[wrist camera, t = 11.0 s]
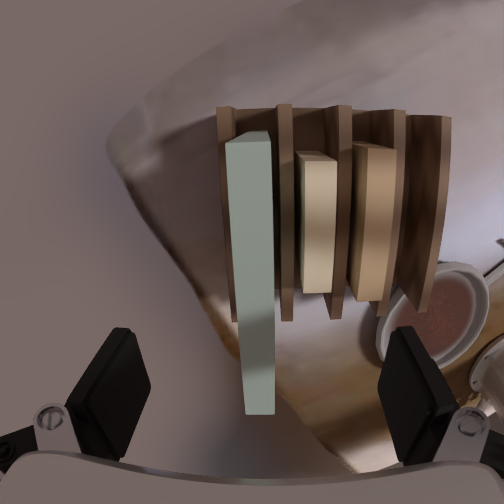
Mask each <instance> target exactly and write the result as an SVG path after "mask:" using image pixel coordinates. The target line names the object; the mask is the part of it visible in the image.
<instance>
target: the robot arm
mask: <svg viewBox="0 0 504 504" xmlns="http://www.w3.org/2000/svg"><path fill="white" fill-rule="evenodd" d="M469 384H470V386H471V388H472V389H473V390H474V391H476V392H481V394H482V395H481V400H480V401H479V403H478V405H477V406H476V408H474V407H463V408H461V409H460V407H459V405H458V403H457V401H456V399H455V398H454V396H453V394H452V392H451V390H450V388H449V386H448V384H447V382H446V380H445V378H444V377H443V375H442V373H441V371H440V369H439V367H438V366H437V364H436V362H435V361H434V359H432V358H431V357H430V356H429V354H428V352H427V350H426V349H425V347H424V345H423V343H422V341H421V340H420V338H419V336H418V335H417V333H416V331H415V329H414V328H413V326H400V327H397V328H396V329H395V331H392V332H391V334H390V339H389V343H388V347H387V351H386V355H385V359H384V363H383V367H382V370H381V374H380V378H379V381H378V394H379V397H380V400H381V403H382V407H383V410H384V413H385V416H386V420H387V423H388V427H389V430H390V433H391V437H392V440H393V444H394V448H395V451H396V455H397V458H398V461H399V462H402V461H403V465H404V467H399V468H394V469H388V470H381V471H374V472H367V473H359V474H351V475H342V476H332V477H319V478H300V479H243V478H226V477H213V476H202V475H193V474H185V473H177V472H170V471H163V470H158V469H152V468H146V467H141V466H136V465H130V464H126V463H121V462H119V460H120V457H121V458H123V457H124V456H125V454H126V451H127V448H128V446H129V443H130V441H131V438H132V436H133V433H134V430H135V428H136V425H137V423H138V420H139V418H140V415H141V413H142V410H143V408H144V406H145V403H146V401H147V398H148V396H149V393H150V390H151V384H150V381H149V377H148V374H147V371H146V368H145V365H144V362H143V359H142V355H141V352H140V349H139V345H138V342H137V339H136V335H135V333H133V332H131V330H130V329H129V328H114V329H113V330H112V332H111V333H110V334H109V336H108V337H107V339H106V340H105V342H104V343H103V345H102V346H101V348H100V349H99V351H98V352H97V354H96V355H95V357H94V358H93V360H92V362H91V363H90V364H89V366H88V368H87V369H86V370H85V372H84V374H83V375H82V377H81V378H80V380H79V381H78V383H77V385H76V386H75V388H74V389H73V391H72V393H71V394H70V396H69V397H68V399H67V402H66V403H65V405H64V406H63V405H61V404H58V403H51V404H47V405H45V406H43V407H41V408H40V409H39V410H38V411H37V412H36V414H35V416H34V418H33V424H34V425H31V426H29V427H26V428H23V429H21V430H18V431H16V432H12V433H10V434H7V435H4V436H1V437H0V504H504V435H502V434H499V433H497V432H495V431H492V430H490V429H489V428H490V423H489V419H488V417H487V416H486V414H485V413H484V410H485V409H486V407H487V404H488V403H489V404H490V405H493V407H494V409H495V410H496V412H497V414H498V415H499V417H500V419H501V421H502V422H503V424H504V335H502V336H500V337H498V338H497V339H496V340H494V341H493V342H492V343H491V344H490V345H488V346H487V348H486V349H485V350H484V351H483V352H482V353H481V354H480V355H479V357H478V358H477V360H476V361H475V363H474V365H473V366H472V368H471V371H470V374H469Z"/></svg>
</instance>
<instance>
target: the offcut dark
mask: <svg viewBox="0 0 504 504" xmlns="http://www.w3.org/2000/svg"><path fill="white" fill-rule="evenodd" d="M396 157H397V150H396V149H392V148H388V147H384V146H380V145H376V144H372V143H368V142H361V141H352V184H351V210H350V228H349V244H348V257H347V269H346V280H347V282H348V284H349V286H350V288H351V290H352V293H353V295H354V297H355V299H356V301H357V302H364V301H380V300H382V296H383V290H384V284H385V277H386V271H387V263H388V256H389V248H390V239H391V230H392V220H393V209H394V196H395V180H396Z"/></svg>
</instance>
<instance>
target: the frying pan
mask: <svg viewBox="0 0 504 504" xmlns="http://www.w3.org/2000/svg"><path fill="white" fill-rule="evenodd" d="M501 241H502V242H503V243H504V239H502V238H501ZM502 274H504V263H502V264H501V265H500V266H499V267H497V268H496V269H495V270H494V271H493V272H491V273H490V274H489V275H487V276H486V277H485V278H484V277H483V275H482V273H480V272H479V271H478V270H477V269H475V268H474V267H473V266H472V265H469V264H465V263H460V262H444V263H438V264H437V268H436V273H435V277H434V282H433V287H432V291H431V295H430V300H429V304H428V308H427V312H422V313H417V311H416V310H415V308H414V307H413V305H412V304H411V302H410V301H409V299H408V298H407V297H406V295H405V294H404V292H403V291H402V289H401V288H400V287H399V286H398V287H397V288H396V290H395V291H394V293H393V294H392V295H391V297H390V299H389V304H388V309H387V315H386V316H380V318H379V323H378V326H377V333H376V344H375V345H376V348H377V351H378V354H379V357H380V359H381V360H382V361H383V362H384V359H385V355H386V351H387V347H388V343H389V339H390V334H391V332H392V331H395V329H396V328H397V327H400V326H413V328H414V329H415V331H416V333H417V335H418V336H419V338H420V340H421V341H422V343H423V345H424V347H425V349H426V350H427V352H428V354H429V356H430V357H431V358H432V359H434V361H435V362H436V364H437V366H438V367H439V369H441V368H443V367H445V366H446V365H448V364H450V363H452V362H453V361H455V360H456V359H457V358H458V357H459V356H461V355H462V354H463V353H464V352H466V350H467V349H468V348H469V347H470V346H471V345H472V343H473V342H474V341H475V340H476V338H477V337H478V335H479V333H480V331H481V330H482V328H483V326H484V324H485V321H486V318H487V314H488V310H489V290H488V286H489V285H490V284H491V283H493V282H494V281H495V280H496V279H498V278H499V277H500V276H501V275H502Z"/></svg>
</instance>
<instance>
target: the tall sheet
mask: <svg viewBox="0 0 504 504" xmlns="http://www.w3.org/2000/svg"><path fill="white" fill-rule="evenodd" d="M225 149H226V166H227V182H228V198H229V213H230V228H231V242H232V256H233V270H234V283H235V296H236V308H237V321H238V333H239V344H240V356H241V367H242V378H243V389H244V400H245V410H246V414H256V415H257V414H275V412H274V411H275V313H274V244H273V201H272V167H271V141H270V138H269V135H268V132H267V130H266V131H248V132H246V133H244V134H242V135H240V136H238V137H237V138H235V139H233V140H231V141H229V142H227V143H225Z"/></svg>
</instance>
